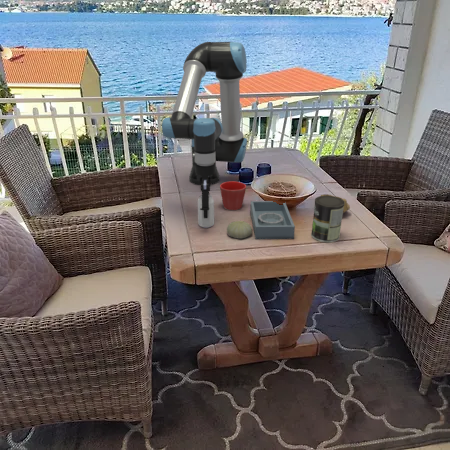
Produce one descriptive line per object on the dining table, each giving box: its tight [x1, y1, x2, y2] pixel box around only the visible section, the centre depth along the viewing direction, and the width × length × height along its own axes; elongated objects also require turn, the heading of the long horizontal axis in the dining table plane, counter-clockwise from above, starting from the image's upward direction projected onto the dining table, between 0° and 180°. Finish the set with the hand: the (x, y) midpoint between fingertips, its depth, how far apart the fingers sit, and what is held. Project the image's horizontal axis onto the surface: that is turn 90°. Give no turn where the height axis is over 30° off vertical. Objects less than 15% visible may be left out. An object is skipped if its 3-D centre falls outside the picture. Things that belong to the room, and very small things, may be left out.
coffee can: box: [310, 195, 345, 244], centre depth 146 cm, size 10×10×14 cm
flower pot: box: [219, 180, 247, 211], centre depth 172 cm, size 11×11×10 cm
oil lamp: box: [320, 193, 351, 214], centre depth 167 cm, size 11×15×8 cm
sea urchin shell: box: [226, 220, 253, 240], centre depth 150 cm, size 9×8×8 cm
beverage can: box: [197, 194, 215, 229], centre depth 155 cm, size 6×6×12 cm
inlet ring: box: [258, 213, 284, 226], centre depth 157 cm, size 10×10×2 cm
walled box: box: [249, 200, 296, 240], centre depth 157 cm, size 24×14×5 cm, turn 1°
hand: (206, 219), depth 156 cm, fingers open, 8 cm apart
